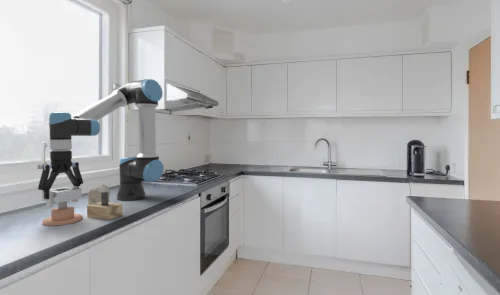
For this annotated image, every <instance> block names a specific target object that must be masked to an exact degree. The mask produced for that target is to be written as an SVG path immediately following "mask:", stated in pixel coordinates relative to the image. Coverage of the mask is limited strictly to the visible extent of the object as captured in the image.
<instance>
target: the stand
mask: <svg viewBox="0 0 500 295" xmlns="http://www.w3.org/2000/svg"><path fill="white" fill-rule="evenodd" d="M86 209H87V210H86V214H87V215H86V217H87V218H94V219H99V220H105V221H108V220H113V219H114V218H117V217H118V218H119V217H121V216H123V203H116V202H111V201H110V202H108V192H101V202H99V203H95V204H91V205H86Z"/></svg>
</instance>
